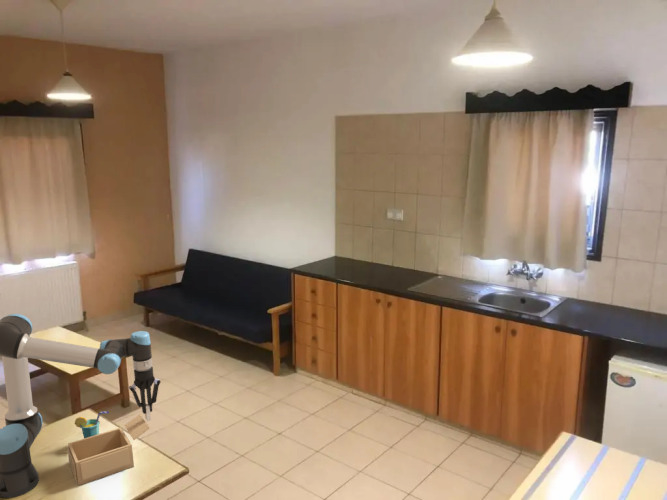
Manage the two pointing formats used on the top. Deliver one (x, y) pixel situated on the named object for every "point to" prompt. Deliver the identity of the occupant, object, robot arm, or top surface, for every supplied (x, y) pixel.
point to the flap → (137, 427)
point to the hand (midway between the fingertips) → (148, 419)
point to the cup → (89, 425)
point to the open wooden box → (100, 456)
